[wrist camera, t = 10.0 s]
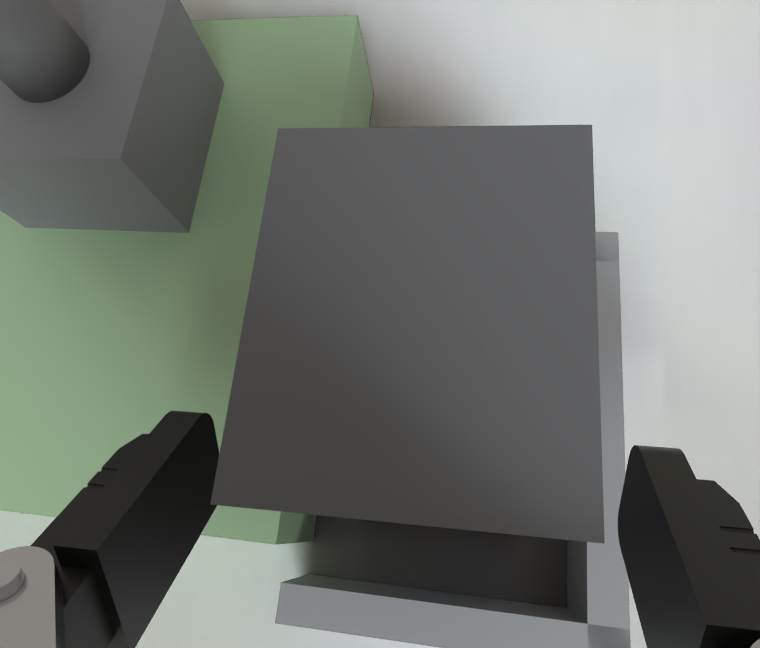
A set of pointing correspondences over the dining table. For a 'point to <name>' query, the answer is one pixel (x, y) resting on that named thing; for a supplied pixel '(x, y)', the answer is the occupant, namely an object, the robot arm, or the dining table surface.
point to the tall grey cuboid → (423, 333)
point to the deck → (205, 280)
